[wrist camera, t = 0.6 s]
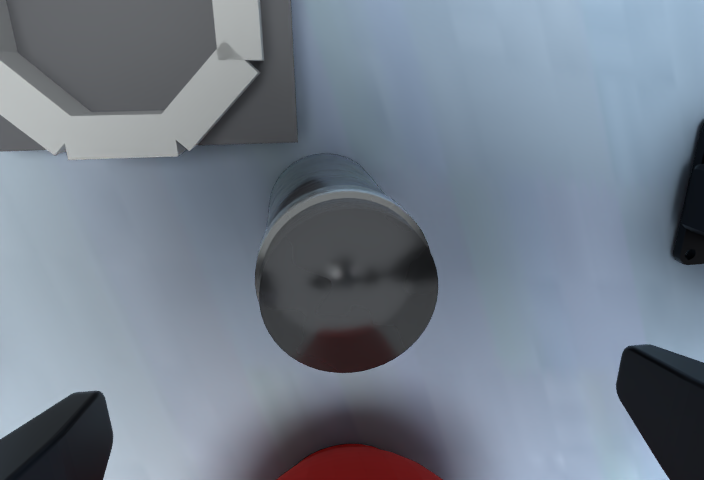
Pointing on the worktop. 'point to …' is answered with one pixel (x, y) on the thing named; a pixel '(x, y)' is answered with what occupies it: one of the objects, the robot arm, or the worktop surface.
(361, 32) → the worktop surface
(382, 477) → the ceramic cup
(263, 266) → the lens
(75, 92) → the camera body mount
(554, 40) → the worktop surface
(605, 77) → the worktop surface
